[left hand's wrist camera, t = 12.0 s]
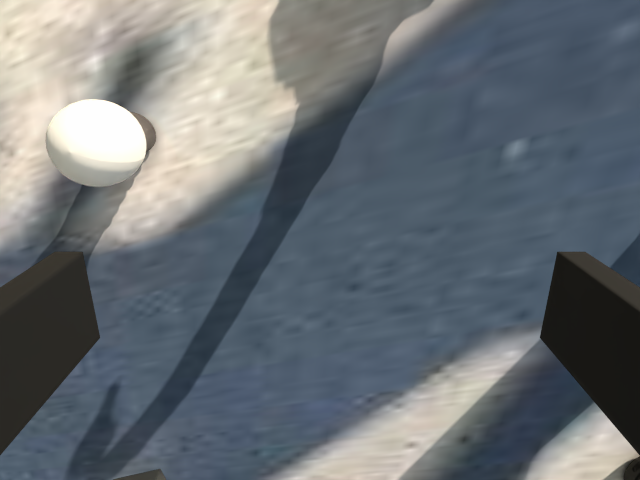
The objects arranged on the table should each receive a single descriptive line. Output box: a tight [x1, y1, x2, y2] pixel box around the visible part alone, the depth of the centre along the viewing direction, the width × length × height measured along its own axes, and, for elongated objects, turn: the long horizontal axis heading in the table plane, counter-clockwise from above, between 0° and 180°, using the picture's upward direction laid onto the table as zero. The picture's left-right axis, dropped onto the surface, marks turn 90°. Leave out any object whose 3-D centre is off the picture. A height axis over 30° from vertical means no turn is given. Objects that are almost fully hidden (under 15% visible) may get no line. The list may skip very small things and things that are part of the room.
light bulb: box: [46, 99, 156, 187], centre depth 36 cm, size 7×7×11 cm
